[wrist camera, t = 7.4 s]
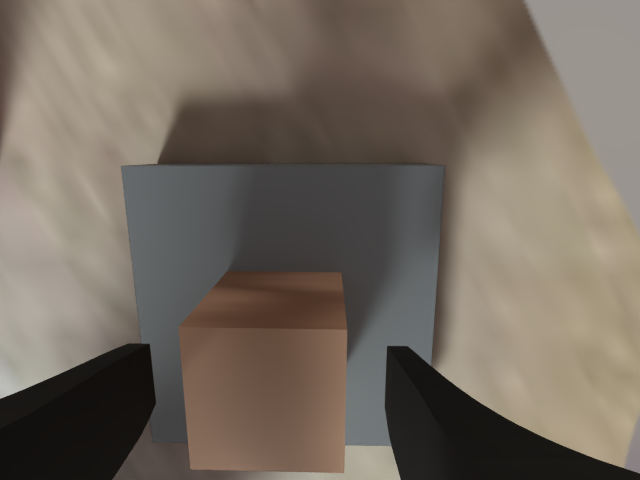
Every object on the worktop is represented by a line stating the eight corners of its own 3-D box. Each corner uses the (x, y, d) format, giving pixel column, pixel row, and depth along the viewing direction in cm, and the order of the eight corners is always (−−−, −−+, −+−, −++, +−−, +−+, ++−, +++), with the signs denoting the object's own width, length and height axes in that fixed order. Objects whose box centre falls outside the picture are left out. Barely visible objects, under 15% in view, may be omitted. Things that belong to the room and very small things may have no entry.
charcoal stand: (178, 399, 20) (152, 442, 17) (156, 163, 17) (120, 166, 14) (411, 402, 20) (425, 446, 17) (424, 163, 17) (444, 165, 14)
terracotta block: (232, 373, 16) (190, 469, 11) (227, 270, 15) (178, 327, 10) (339, 375, 16) (344, 473, 11) (341, 272, 15) (347, 329, 10)
